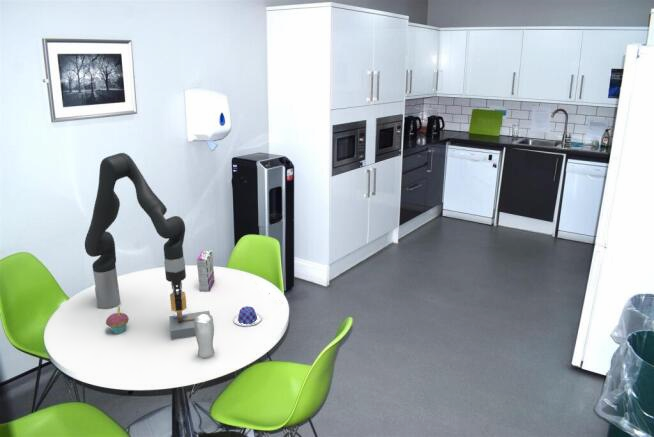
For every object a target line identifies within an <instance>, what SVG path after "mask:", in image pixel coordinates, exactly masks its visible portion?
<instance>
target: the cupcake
mask: <svg viewBox="0 0 654 437" xmlns="http://www.w3.org/2000/svg"><path fill="white" fill-rule="evenodd" d="M120 311H121V308H120V305H118V306H117V312H114V313H112V314H110V315H109V316H107V318H106V320H105V325H106V326H108V327H110V329H111V331H112V333H115V334H120V333H123V332H124V331H125V330H126V326H127V324H128V322H129V319H130V318H129V316H128V315H127V314H126V313H124V312H120Z"/></svg>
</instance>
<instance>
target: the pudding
mask: <svg viewBox="0 0 654 437" xmlns="http://www.w3.org/2000/svg"><path fill="white" fill-rule="evenodd" d="M257 316H259V318H260V320H259V322H257V323H255V321H256V320H258V319H257ZM232 318H233V319H232V322H233V323H234V324H236V325H237V326H241V327H242V326H243V327H249V326H254V325H257V324H259V323H260V322H261V321H262V319H263V317H262V315H261V314H260V313H258V312H256V310H255V308H254V307H252V306H249V305H248V306H247V305H246V306H243V307H241V308H240V309H239V312H238V313H237V314H236V315H234V316H233V317H232ZM237 318H238V322H239V323H240V324H239V323H237V322H235V319H237ZM242 323H243V324H246V325H241V324H242ZM252 323H255V324H252ZM249 324H252V325H249Z"/></svg>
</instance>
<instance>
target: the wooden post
mask: <svg viewBox="0 0 654 437" xmlns="http://www.w3.org/2000/svg"><path fill="white" fill-rule="evenodd" d="M182 314H183V311H179V312H177V311H176V315H177V320H178V323H182V322H183V317H182Z"/></svg>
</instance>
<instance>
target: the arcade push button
mask: <svg viewBox="0 0 654 437" xmlns="http://www.w3.org/2000/svg"><path fill="white" fill-rule="evenodd" d="M169 298H170V299H169V301H170V308H171V309H170V310H171V312H176V313H177V312H179V311H182V312H183V311H186V309H187V308H188V307H187V299H186V298H187V296H186V292H185V291H183V290H182V296H181V299H182V302H181V303H182V310H179V311H177V310H176V303H175V297H174V296H173V291H172V292H171V293H170V294H169ZM176 299H180V298H176Z"/></svg>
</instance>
